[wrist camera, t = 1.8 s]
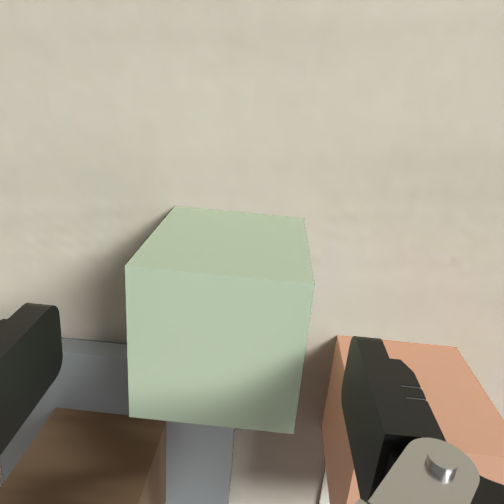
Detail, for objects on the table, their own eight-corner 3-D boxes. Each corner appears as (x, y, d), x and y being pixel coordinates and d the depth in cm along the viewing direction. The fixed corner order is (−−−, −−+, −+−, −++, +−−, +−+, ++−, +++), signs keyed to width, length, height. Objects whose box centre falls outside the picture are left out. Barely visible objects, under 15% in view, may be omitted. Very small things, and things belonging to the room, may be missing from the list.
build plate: (240, 356, 20) (237, 376, 18) (226, 532, 24) (223, 558, 22) (-6, 330, 20) (-26, 348, 19) (21, 508, 24) (6, 533, 23)
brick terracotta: (455, 346, 19) (529, 459, 13) (429, 438, 21) (484, 572, 15) (337, 334, 19) (359, 441, 13) (321, 427, 21) (335, 554, 15)
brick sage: (304, 217, 17) (314, 283, 12) (290, 329, 19) (293, 434, 13) (175, 205, 17) (124, 265, 12) (173, 318, 19) (129, 416, 14)
